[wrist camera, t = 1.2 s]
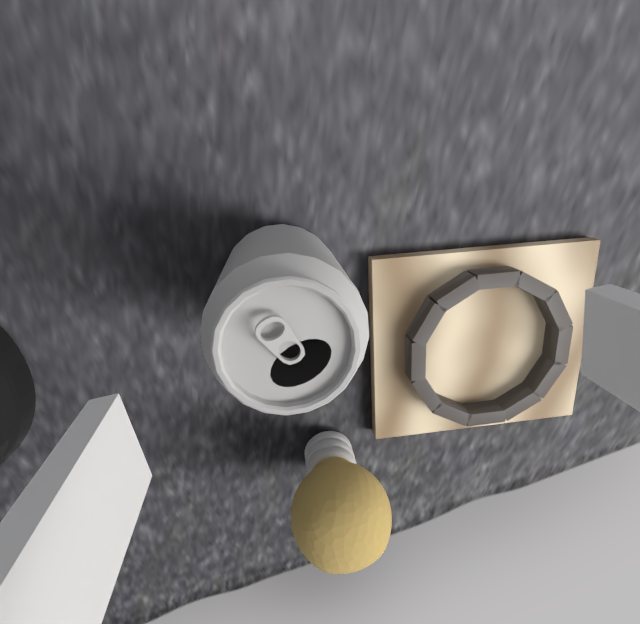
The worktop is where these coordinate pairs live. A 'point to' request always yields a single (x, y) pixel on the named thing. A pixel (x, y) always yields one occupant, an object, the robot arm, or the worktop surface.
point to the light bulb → (339, 508)
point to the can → (284, 323)
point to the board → (477, 334)
